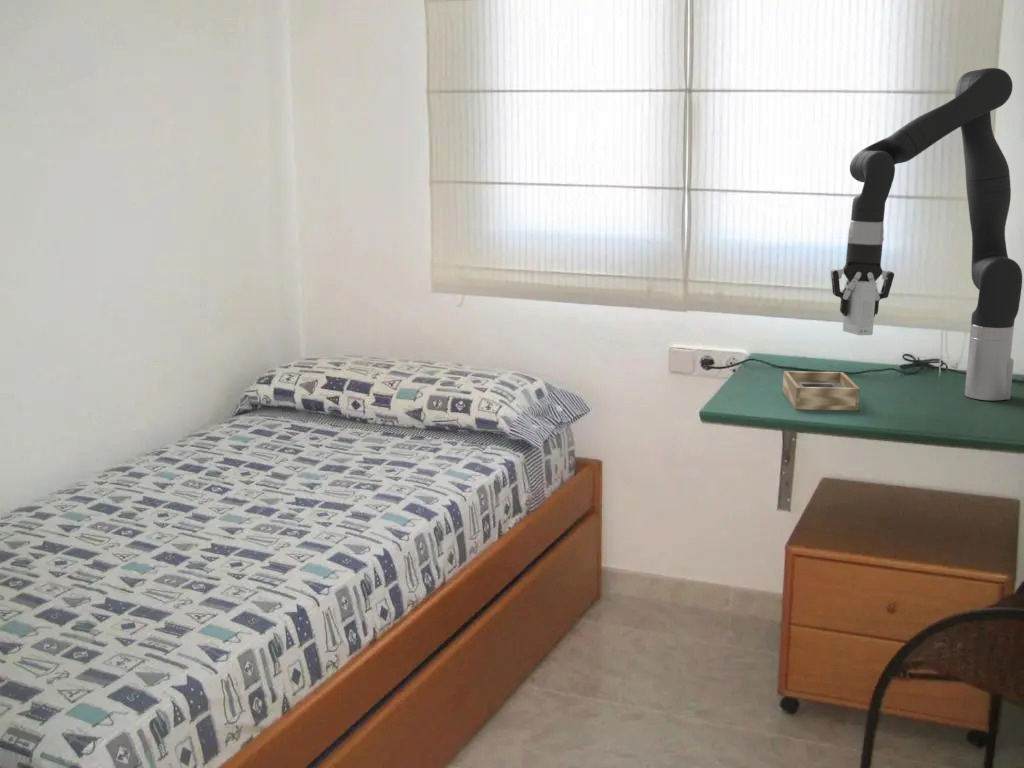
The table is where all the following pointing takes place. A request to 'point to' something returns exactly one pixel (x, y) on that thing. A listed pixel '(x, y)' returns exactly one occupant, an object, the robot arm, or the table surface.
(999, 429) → the table surface
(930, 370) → the table surface
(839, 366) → the table surface
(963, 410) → the table surface
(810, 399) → the crate
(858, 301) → the skincare box
